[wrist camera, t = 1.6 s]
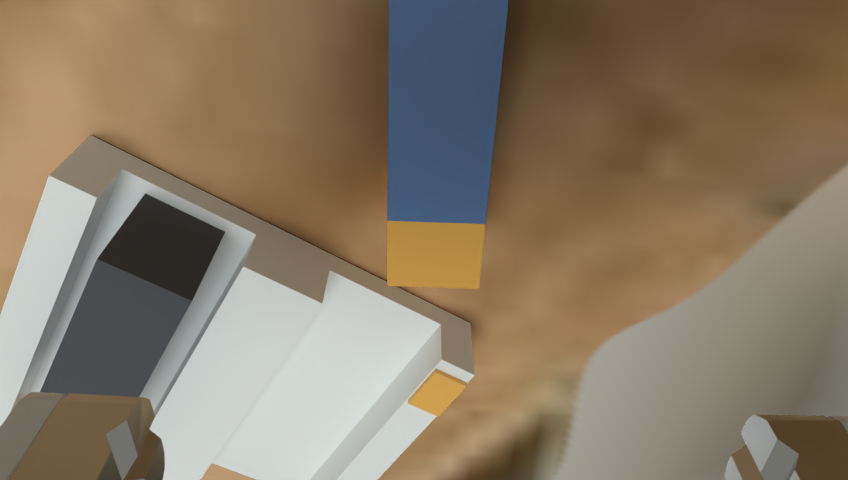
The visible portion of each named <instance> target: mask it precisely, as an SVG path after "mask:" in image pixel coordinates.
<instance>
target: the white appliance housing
mask: <svg viewBox="0 0 848 480" xmlns="http://www.w3.org/2000/svg"><path fill="white" fill-rule="evenodd" d="M145 193H146V194H148V195H150V196H152V197H154V198H156V199H158V200H160V201H162V202H164V203H167V204H169V205H171V206H173V207H175V208H177V209H179V210H181V211H183V212H185V213H187V214H189V215H191V216H194V217H196V218H198V219H200V220H202V221H204V222H206V223H208V224H210V225H212V226H214V227H216V228H218V229H221V230H223V231H225V234H224V236H223V238H222V240H221V242H220V244H219V246H218V248H217V250H216V252H215V254H214V256H213V259H212V261H211V263H210V265H209V267H208V269H207V271H206V273H205V275H204V277H203V279H202V281H201V283H200V286H199V288H198V290H197V292H196V294H195V296H194V298H193V300H192V302H191V304H190V306H189V307H188V309H187V311H186V313H185V315H184V317H183V318H182V320H181V322H180V324H179V326H178V327H177V329H176V331H175V333H174V335H173V337H172V338H171V340H170V342H169V344H168V346H167V347H166V349H165V351H164V353H163V355H162V356H161V358H160V360H159V362H158V364H157V366H156V367H155V369H154V371H153V373H152V375H151V376H150V378H149V380H148V382H147V384H146V385H145V387H144V389H143V391H142V393H141V395H140V396H139V397H143V398H147V399H150V402H151V405H152V408H153V411H154V414H155V418H154V420H153V422H152V425H151V427H150V430H151V431H152V432H153V433H155V434H156V435H157V436H158V437H160V438H161V440H162V444H163V448H164V456H165V469H164V475H163V480H200V479H201V478H202V476H203V475H204V473H205V472H206V470H207V469H208V468H209V466H210V465H211V463H213V464H216V465H219V466H221V467H224V468H227V469H230V470H232V471H235V472H238V473H240V474H243V475H246V476H248V477H251V478H254V479H256V480H377V479H378V478H379V477H380V476H381V475H382V474H383V473H384V472H385V471H386V470H387V469H388V468H389V467H390V466H391V464H392V463H393V462H394V461H395V460H396V459H397V458H398V457H399V456H400V455H401V454H402V453H403V452H404V450H405V449H406V448H407V447H408V446H409V445H410V444H411V443H412V442H413V441H414V440H415V439H416V438H417V437H418V435H419V434H420V433H421V432H422V431H423V430H424V429H425V428H426V427H427V426H428V425H429V424H430V423H431V422H432V420H433V419H434V418H435V417H436V416H439V415H440V414H441V413H442V412H443V411H444V410H445V409H446V408H447V407H448V406H449V405H450V404H451V402H452V401H453V400H454V399H455V398H456V397H457V396H458V395H459V394H460V393H461V392H462V391H463V390H464V389H465V387H466V384H467V383H468V382H469V381H470V380H471V379H472V378H473V376H474V375H475V372H474V359H473V347H472V334H471V323H469V322H467V321H465V320H463V319H461V318H459V317H457V316H455V315H453V314H451V313H449V312H447V311H445V310H443V309H441V308H439V307H437V306H435V305H433V304H431V303H429V302H427V301H425V300H423V299H421V298H419V297H417V296H415V295H412V294H410V293H408V292H406V291H404V290H402V289H400V288H398V287H396V286H387V282H386V281H384V280H382V279H380V278H378V277H376V276H374V275H372V274H370V273H368V272H366V271H364V270H362V269H360V268H358V267H356V266H354V265H352V264H350V263H348V262H346V261H344V260H342V259H340V258H338V257H336V256H334V255H332V254H330V253H328V252H326V251H324V250H322V249H320V248H318V247H316V246H314V245H312V244H310V243H308V242H306V241H304V240H302V239H300V238H297V237H295V236H293V235H291V234H289V233H287V232H285V231H283V230H281V229H279V228H277V227H275V226H273V225H271V224H269V223H267V222H265V221H263V220H261V219H259V218H257V217H255V216H253V215H251V214H249V213H247V212H245V211H243V210H241V209H239V208H237V207H235V206H233V205H231V204H229V203H227V202H225V201H223V200H221V199H219V198H217V197H215V196H213V195H211V194H209V193H207V192H205V191H203V190H201V189H199V188H197V187H195V186H193V185H191V184H189V183H187V182H185V181H183V180H180V179H178V178H176V177H174V176H172V175H170V174H168V173H166V172H164V171H162V170H160V169H158V168H156V167H154V166H152V165H150V164H148V163H146V162H144V161H142V160H140V159H138V158H136V157H134V156H132V155H130V154H128V153H126V152H124V151H122V150H120V149H118V148H116V147H114V146H112V145H110V144H108V143H106V142H104V141H102V140H100V139H98V138H96V137H94V136H92V135H90V136H89V137H88V138H87V139H86V140H85V141H84V142H83V143H82V144H81V145H80V146H79V147H78V148H77V149H76V150H75V151H74V152H73V153H72V154H71V155H70V156H69V157H68V158H67V159H66V160H65V161H64V162H62V163H61V164H60V165H59V166H58V167H57V168H56V169H55V170H54V171H53V172H52V173H51V174H50V175H49V177H48V180H47V183H46V186H45V189H44V192H43V195H42V197H41V200H40V203H39V206H38V209H37V212H36V215H35V217H34V220H33V223H32V226H31V229H30V232H29V235H28V237H27V240H26V243H25V246H24V249H23V252H22V255H21V257H20V260H19V263H18V266H17V269H16V272H15V275H14V277H13V280H12V283H11V286H10V289H9V292H8V295H7V298H6V300H5V303H4V306H3V309H2V312H1V315H0V426H1V425H2V424H3V422H4V421H5V419H6V418H7V417H8V415H9V414H10V412H11V411H12V409H13V408H14V407H15V405H16V404H17V402H18V401H19V400H20V399H21V398H23V397H24V396H26V395H27V394H29V393H31V392H40V391H41V388H42V386H43V384H44V381H45V379H46V377H47V374H48V372H49V370H50V367H51V365H52V363H53V360H54V358H55V356H56V353H57V351H58V349H59V346H60V344H61V342H62V339H63V337H64V335H65V332H66V330H67V328H68V325H69V323H70V321H71V318H72V316H73V314H74V311H75V309H76V307H77V304H78V302H79V300H80V297H81V295H82V293H83V290H84V288H85V286H86V283H87V281H88V279H89V276H90V274H91V272H92V269H93V267H94V265H95V262H96V260H97V258H98V257H99V255H100V254H101V253H102V251H103V250H104V249H105V247H106V246H107V245H108V243H109V242H110V241H111V239H112V238H113V236H114V235H115V234H116V232H117V231H118V230H119V228H120V227H121V226H122V224H123V223H124V221H125V220H126V219H127V217H128V216H129V215H130V213H131V212H132V211H133V209H134V208H135V207H136V205H137V204H138V202H139V201H140V200H141V198H142V197H143V196H144V194H145Z"/></svg>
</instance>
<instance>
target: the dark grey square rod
mask: <svg viewBox="0 0 848 480" xmlns="http://www.w3.org/2000/svg"><path fill="white" fill-rule="evenodd" d="M224 234H225V231H223V230H221V229H218V228H216V227H214V226H212V225H210V224H208V223H206V222H204V221H202V220H200V219H198V218H196V217H194V216H191V215H189V214H187V213H185V212H183V211H181V210H179V209H177V208H175V207H173V206H171V205H169V204H167V203H164V202H162V201H160V200H158V199H156V198H154V197H152V196H150V195H148V194H146V193H145V194H144V196H143V197H142V198H141V200H140V201H139V202H138V204H137V205H136V207H135V208H134V209H133V211H132V212H131V213H130V215H129V216H128V217H127V219H126V220H125V221H124V223H123V224H122V226H121V227H120V228H119V230H118V231H117V232H116V234H115V235H114V236H113V238H112V239H111V241H110V242H109V243H108V245H107V246H106V247H105V249H104V250H103V251H102V253H101V254H100V255H99V257H98V258H97V260H96V262H95V265H94V267H93V269H92V272H91V274H90V276H89V279H88V281H87V283H86V286H85V288H84V290H83V293H82V295H81V297H80V300H79V302H78V304H77V307H76V309H75V311H74V314H73V316H72V318H71V321H70V323H69V325H68V328H67V330H66V332H65V335H64V337H63V339H62V342H61V344H60V346H59V349H58V351H57V353H56V356H55V358H54V360H53V363H52V365H51V367H50V370H49V372H48V374H47V377H46V379H45V381H44V384H43V386H42V388H41V391H40V392H44V393H64V394H69V393H74V394H92V395H110V396H129V397H139V396H140V395H141V393H142V391H143V389H144V387H145V385H146V384H147V382H148V380H149V378H150V376H151V375H152V373H153V371H154V369H155V367H156V366H157V364H158V362H159V360H160V358H161V356H162V355H163V353H164V351H165V349H166V347H167V346H168V344H169V342H170V340H171V338H172V337H173V335H174V333H175V331H176V329H177V327H178V326H179V324H180V322H181V320H182V318H183V317H184V315H185V313H186V311H187V309H188V307H189V306H190V304H191V302H192V300H193V298H194V296H195V294H196V292H197V290H198V288H199V286H200V283H201V281H202V279H203V277H204V275H205V273H206V271H207V269H208V267H209V265H210V263H211V261H212V259H213V256H214V254H215V252H216V250H217V248H218V246H219V244H220V242H221V240H222V238H223V236H224Z"/></svg>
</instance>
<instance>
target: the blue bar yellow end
mask: <svg viewBox="0 0 848 480" xmlns="http://www.w3.org/2000/svg"><path fill="white" fill-rule="evenodd" d="M508 2H509V0H389V74H388V227H387V286H406V287H437V288H468V289H479V282H480V272H481V263H482V253H483V243H484V234H485V224H486V214H487V205H488V195H489V185H490V176H491V166H492V156H493V147H494V137H495V127H496V118H497V108H498V98H499V89H500V79H501V69H502V60H503V50H504V40H505V31H506V21H507V11H508Z"/></svg>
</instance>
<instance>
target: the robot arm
mask: <svg viewBox="0 0 848 480" xmlns="http://www.w3.org/2000/svg"><path fill="white" fill-rule="evenodd" d="M154 418H155V414H154V411H153V408H152V405H151V402H150V399H147V398H143V397H129V396H110V395H92V394H74V393H69V394H64V393H44V392H31V393H29V394H27V395H26V396H24V397H23V398H21V399H20V400H19V401H18V402H17V404H16V405H15V407H14V408H13V409H12V411H11V412H10V414H9V415H8V417H7V418H6V419H5V421H4V422H3V424H2V425H1V426H0V480H163V475H164V469H165V456H164V448H163V444H162V440H161V438H160V437H158V436H157V435H156V434H155V433H153V432H152V431H151V430H150V427H151V425H152V422H153V420H154ZM741 435H742V437H743V438H744V440H745V442H746V445H745V446H744V447H742V448H741V449H739V450H738V451H736V452H735V453H733V454H732V455H731V457H730V459H729V462H728V465H727V467H726V470H725V480H848V417H843V416H828V417H826V416H816V415H813V416H812V415H811V416H810V415H760V414H759V415H758V414H755V415H753V416H752V417H751V418H749V419H748V420H747V421H746V423H745V426H744V427H743V430H742V432H741Z"/></svg>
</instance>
